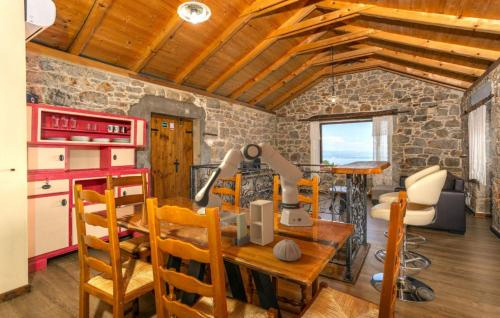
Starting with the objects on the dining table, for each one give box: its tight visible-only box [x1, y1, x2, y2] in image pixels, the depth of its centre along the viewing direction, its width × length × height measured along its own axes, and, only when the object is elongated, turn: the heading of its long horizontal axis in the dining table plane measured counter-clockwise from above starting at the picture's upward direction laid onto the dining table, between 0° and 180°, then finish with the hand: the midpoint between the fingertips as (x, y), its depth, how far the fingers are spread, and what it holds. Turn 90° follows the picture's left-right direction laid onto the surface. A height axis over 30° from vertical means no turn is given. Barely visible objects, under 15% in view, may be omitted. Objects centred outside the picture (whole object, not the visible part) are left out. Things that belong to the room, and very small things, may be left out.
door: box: [236, 212, 248, 245], centre depth 139 cm, size 3×6×16 cm, turn 139°
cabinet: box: [232, 199, 275, 247], centre depth 138 cm, size 14×19×22 cm
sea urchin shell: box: [272, 239, 302, 262], centre depth 119 cm, size 13×14×8 cm
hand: (234, 222), depth 142 cm, fingers open, 8 cm apart
